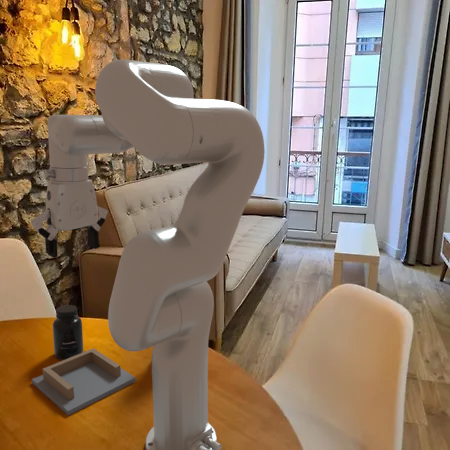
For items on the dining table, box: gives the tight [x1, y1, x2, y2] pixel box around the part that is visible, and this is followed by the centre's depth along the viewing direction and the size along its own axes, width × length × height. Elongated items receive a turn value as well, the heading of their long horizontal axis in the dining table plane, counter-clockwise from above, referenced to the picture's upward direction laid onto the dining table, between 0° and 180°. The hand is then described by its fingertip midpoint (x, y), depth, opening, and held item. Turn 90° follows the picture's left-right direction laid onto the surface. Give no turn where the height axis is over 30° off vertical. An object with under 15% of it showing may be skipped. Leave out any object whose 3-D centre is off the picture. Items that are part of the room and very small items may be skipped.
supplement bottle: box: [52, 304, 84, 361], centre depth 107 cm, size 7×7×12 cm
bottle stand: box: [31, 348, 137, 416], centre depth 96 cm, size 16×16×4 cm
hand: (73, 251), depth 97 cm, fingers open, 9 cm apart
